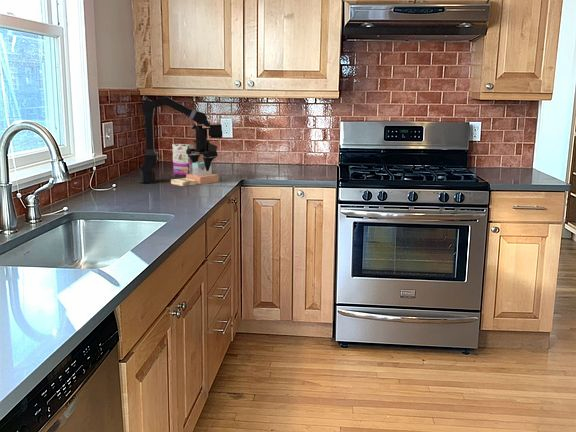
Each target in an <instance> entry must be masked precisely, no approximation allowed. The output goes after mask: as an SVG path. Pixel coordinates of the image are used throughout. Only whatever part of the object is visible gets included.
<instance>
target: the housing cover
mask: <svg viewBox="0 0 576 432" xmlns="http://www.w3.org/2000/svg"><path fill="white" fill-rule="evenodd" d="M212 165H213V163H212V162H211V165H210V167H212ZM192 167H195V168H203V167H205V164H204V161H199V160H198V161H196V163H192ZM212 168H213V167H212Z"/></svg>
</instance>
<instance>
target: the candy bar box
mask: <svg viewBox="0 0 576 432" xmlns="http://www.w3.org/2000/svg"><path fill="white" fill-rule="evenodd" d="M171 148H172V150H171V151H172V174H173V175H175V176H181V177H182V176H183V177H186V174H192V161H191V159H190V157H189V156H188V155H189V154H186V150H187V149H188V148H195V145H194V144H189V143H188V144H186V143H172V145H171Z"/></svg>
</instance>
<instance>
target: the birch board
mask: <svg viewBox="0 0 576 432" xmlns="http://www.w3.org/2000/svg"><path fill="white" fill-rule="evenodd" d="M170 184H172V185H175V186H180V187H186V186H194V185H196V186H197V185H198V184H197V180H192V179H187V178H186V177H182V178H174V179H173V178H172V179H170Z"/></svg>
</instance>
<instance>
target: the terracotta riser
mask: <svg viewBox="0 0 576 432" xmlns="http://www.w3.org/2000/svg"><path fill="white" fill-rule="evenodd" d="M185 178H187V179H192V180H197V184H196V185H205V184H206V185H208V184H213V183H219V174H216V173H215V174H214V173H212V175H203V176H195V175H193V174H186V176H185Z"/></svg>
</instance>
